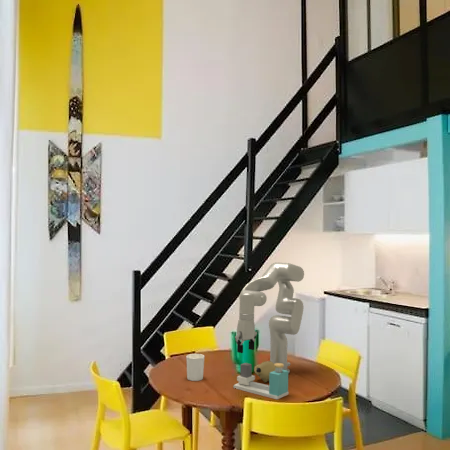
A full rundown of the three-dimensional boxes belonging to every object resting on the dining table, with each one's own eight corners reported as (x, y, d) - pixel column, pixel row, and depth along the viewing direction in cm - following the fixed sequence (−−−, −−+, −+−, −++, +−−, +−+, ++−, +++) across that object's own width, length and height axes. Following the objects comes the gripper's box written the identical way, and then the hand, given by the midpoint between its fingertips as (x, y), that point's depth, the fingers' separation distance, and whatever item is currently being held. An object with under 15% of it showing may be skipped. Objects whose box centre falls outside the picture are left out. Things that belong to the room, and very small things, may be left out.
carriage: (245, 380, 258) (245, 361, 258) (254, 382, 254) (254, 363, 254) (236, 383, 253) (237, 364, 253) (246, 386, 249) (246, 366, 249)
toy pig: (253, 378, 269) (253, 358, 269) (275, 378, 269) (275, 358, 269) (255, 384, 259) (255, 363, 259) (278, 384, 259) (278, 363, 259)
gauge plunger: (277, 376, 245) (277, 362, 245) (285, 377, 242) (285, 364, 242) (272, 378, 241) (272, 364, 241) (280, 380, 238) (280, 365, 238)
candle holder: (192, 374, 274) (193, 352, 274) (207, 377, 269) (208, 355, 269) (182, 379, 265) (182, 356, 265) (197, 382, 260) (197, 359, 260)
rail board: (245, 383, 260) (245, 361, 260) (288, 394, 244) (288, 370, 244) (233, 388, 252) (233, 365, 252) (277, 399, 236) (277, 375, 236)
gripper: (250, 314, 263) (249, 347, 262) (230, 318, 249) (229, 352, 249) (262, 316, 258) (261, 349, 258) (242, 319, 245) (241, 355, 244)
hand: (245, 351), depth 253 cm, fingers open, 9 cm apart
